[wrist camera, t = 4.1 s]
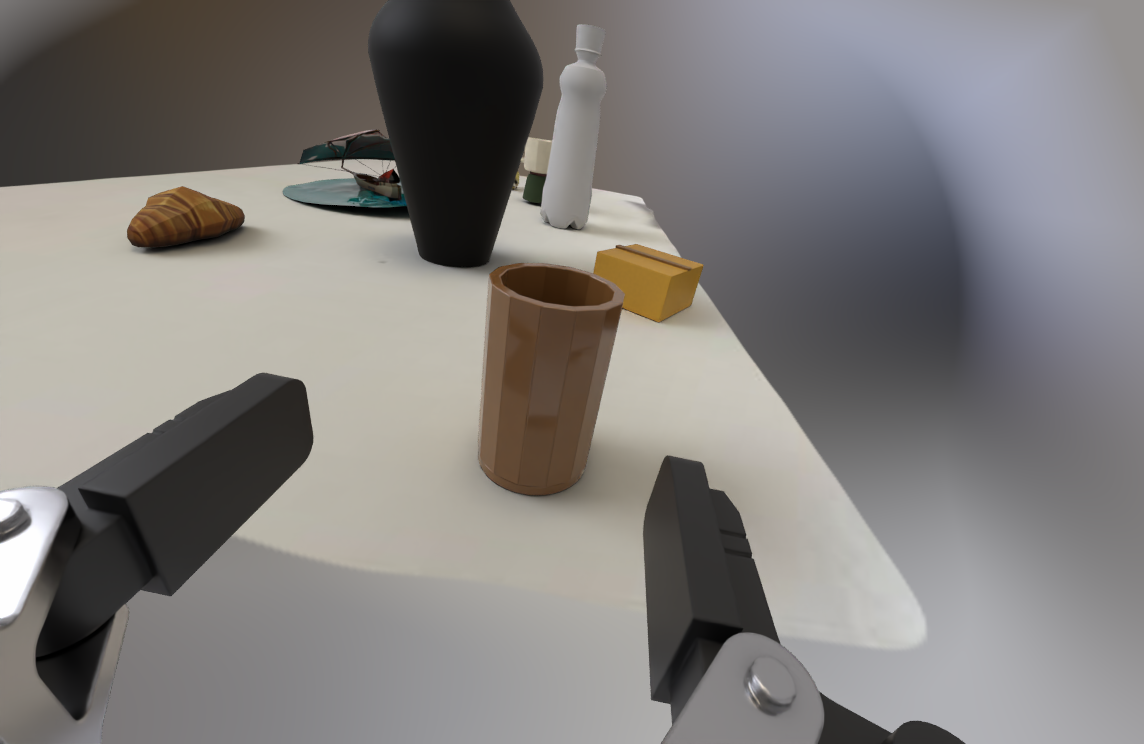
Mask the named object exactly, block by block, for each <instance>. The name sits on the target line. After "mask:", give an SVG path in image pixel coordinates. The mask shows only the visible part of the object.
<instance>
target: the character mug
mask: <svg viewBox="0 0 1144 744" xmlns="http://www.w3.org/2000/svg"><path fill="white" fill-rule="evenodd" d="M551 146H552V141H548V140H543V139H537V138H530V137H528V140H527V143H526V146H525V149H524V151H525V158H522V159H521V162H524V167H525V169H526V170H528V171H530V174H529V175H528V177H527V180H526V185H525V189H524V194H523V198H524V199H525V200H527V201H529V202H535V203H541V204H542V195H543V187H544V184H545V181H546V177H547V171H548V165H549V158H550V152H551Z"/></svg>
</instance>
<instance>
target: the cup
mask: <svg viewBox="0 0 1144 744" xmlns="http://www.w3.org/2000/svg"><path fill="white" fill-rule="evenodd" d="M624 297H625V293H624V292H623V291H622V290H621V289H620V288H619V287H618V286H617V285H616V284H614V283H613V282H611V281H609V280H606V279H604V278H602V277H600V276H598V275H596V274H593V273H589V272H586V271H582V270H579V269H575V268H572V267H571V268H570V267H566V266H559V265H552V264H544V263H517V264H512V265H507V266H501V267H498V268H497V269H496V270H494V271H493V272H492V273H490V274H489V280H488V295H487V311H486V326H485V341H484V356H483V371H482V386H481V401H480V417H479V432H478V459H479V463H480V466H481V468H482V470H483V471H484V473H485V474H486V475H487V476H488V477H489V478H490V479H491V480H492V481H493V482H495V483H496V484H498V485H499V486H501V487H503V488H505V489H507V490H510V491H513V492H516V493H520V494H526V495H548V494H554V493H557V492H561V491H563V490H566V489H567V488H569V487H571V486H572V485H574V484H575V483H576V482H577V481H578V480H579V479H580V478H581V476H582V475H583V473H584V470H585V467H586V462H587V458H588V454H589V450H590V445H591V441H592V437H593V432H594V428H595V424H596V419H597V415H598V411H599V406H600V402H601V397H602V393H603V389H604V384H605V380H606V376H607V371H608V367H609V363H610V358H611V354H612V350H613V345H614V341H615V337H616V332H617V328H618V324H619V319H620V315H621V310H622V306H623V302H624Z"/></svg>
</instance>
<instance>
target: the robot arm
mask: <svg viewBox="0 0 1144 744" xmlns="http://www.w3.org/2000/svg"><path fill="white" fill-rule="evenodd" d="M312 445H313V431H312V424H311V418H310V412H309V405H308V399H307V392H306V388H305V385H304V384H303V382H302V381H300V380H298V379H293V378H288V377H283V376H278V375H273V374H268V373H259V374H257V375H255V376H253V377H251V378H250V379H248V380H247V381H245V382H244V383H242V384H240V385H239V386H237V387H236V388H234V389H232V390H229V391H227V392H224V393H221V394H218V395H215V396H213V397H210V398H207V399H204V400H201V401H199V402H197V403H196V404H194V405H193V406H191V407H189V408H188V409H186V410H184V411H183V412H181V413H179V414H178V415H176V416H175V418H174V420H168V421H166V422H165V423H163V424H161V425H160V426H158V427H157V428H155V429H153V433H147V434H145V435H143V436H142V437H140V438H139V439H137V440H135V441H134V442H132V443H130V444H129V445H127V446H126V447H124V448H122V449H121V450H119V451H117V452H116V453H114V454H112V455H111V456H109V457H108V458H106V459H104V460H103V461H101V462H99V463H98V464H96V465H94V466H93V467H91V468H90V469H88V470H86V471H85V472H83V473H81V474H80V475H78V476H76V477H75V478H73V479H72V480H70V481H68V482H67V483H65V484H63V485H62V486H60V487H58V488H53V487H47V486H28V487H20V488H13V489H8V490H4V491H0V744H102V726H103V721H104V717H105V713H106V709H107V704H108V700H109V696H110V692H111V688H112V684H113V680H114V675H115V671H116V667H117V664H118V659H119V655H120V651H121V647H122V643H123V639H124V635H125V631H126V627H127V623H128V619H129V608H128V606H127V604H126V603H127V602H128V601H129V600H130V599H131V598H132V597H133V596H134V595H135V594H136V593H137V592H138V591H140V590H144V591H148V592H153V593H158V594H162V595H167V596H172V595H173V594H174V593H175V592H176V591H177V590H178V589H179V588H180V587H181V586H182V585H183V584H184V583H185V582H186V581H187V580H188V579H189V578H190V577H191V576H192V575H193V574H194V573H195V572H196V571H197V570H198V569H199V568H200V567H201V566H202V565H203V564H204V563H205V562H206V561H207V560H208V559H209V558H210V557H211V556H212V555H213V554H214V553H215V552H216V551H217V550H218V549H219V548H220V547H221V546H222V545H223V544H224V543H225V542H226V541H227V540H228V539H229V538H230V537H231V536H232V535H233V534H234V533H235V532H236V531H237V530H238V529H239V528H240V527H241V526H242V525H243V524H244V523H245V522H246V521H247V520H248V519H249V518H250V517H251V516H252V515H253V514H254V513H255V512H256V511H257V510H258V509H259V508H260V507H261V506H262V505H263V504H264V503H265V502H266V501H267V500H268V499H269V498H270V497H271V496H272V495H273V494H274V493H275V492H276V491H277V490H278V489H279V488H280V487H281V486H282V485H283V483H284V482H285V481H286V480H287V479H288V478H289V477H290V476H291V475H292V474H293V473H294V472H295V471H296V470H297V469H298V468H299V467H300V466H301V465H302V464H303V463H304V462H305V461H306V459H307V458H308V456H309V454H310V451H311V449H312ZM643 540H644V561H645V582H646V602H647V623H648V642H649V643H648V644H649V665H650V686H651V700H654V701H658V702H663V703H668V704H671V715H672V727H671V728H670V730H669V732H668V733H667V735H666V736H665V738H664V740H663V741H662V742H661V744H965V743H964V742H963V741H961V740H960V739H959V738H957V737H956V736H954V735H953V734H951V733H949V732H948V731H946V730H944V729H942V728H940V727H938V726H936V725H933V724H930V723H927V722H922V721H909V722H906V723H904V724H903V725H901V726H900V727H899V728H898V729H897V730H896V731H894V732H893V733H890V732H889V731H887V730H885V729H883V728H881V727H879V726H878V725H876V724H874V723H872V722H870V721H868V720H866V719H865V718H863V717H861V716H859V715H857V714H856V713H854V712H852V711H850V710H848V709H846V708H844V707H843V706H841V705H839V704H837V703H835V702H834V701H832V700H830V699H829V698H827V697H826V696H824V695H823V694H822V693H820V692H819V691H818V689H817V687H816V685H815V682H814V681H813V679H812V677H811V676H810V674H809V672H808V671H807V670H806V669H805V667H804V666H803V665H802V663H801V662H800V661H799V660H798V659H797V658H796V657H795V656H794V655H793V654H792V653H791V652H789V650H787V649H786V648H785V647H783V646H782V645H781V644H780V641H779V638H778V636H777V633H776V629H775V626H774V623H773V620H772V616H771V613H770V610H769V607H768V604H767V600H766V597H765V594H764V591H763V587H762V584H761V581H760V578H759V574H758V571H757V568H756V565H755V562H754V559H752V552H751V549H750V545H749V542H748V539H746V533H745V529H744V526H743V523H742V520H741V516H740V513H739V511H738V510H737V509H736V507H735V506H734V505H733V503H732V502H731V501H730V499H729V498H728V497H727V495H726V494H725V493H724V491H719V490H714V489H709V485H708V481H707V477H706V473H705V469H704V465H703V464H702V463H701V462H698V461H693V460H688V459H683V458H678V457H673V456H668V455H667V456H666V457H665V458H664V460H663V462H662V465H661V468H660V471H659V474H658V476H657V479H656V482H655V485H654V488H653V491H652V494H651V496H650V499H649V502H648V505H647V509H646V513H645V519H644V528H643Z"/></svg>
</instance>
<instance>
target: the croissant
mask: <svg viewBox="0 0 1144 744" xmlns="http://www.w3.org/2000/svg"><path fill="white" fill-rule="evenodd" d="M244 217H245V215H244V213H243V211H242V209H240V208H239V207H237V206H235V205H232V204H230V203H227V202H224V201H221V200H218V199H215V198H211V197H209V196H206V195H204V194H202V193H200V192H197V191H194V190H191V189H189V188H186V187H183V186H182V187H178V188H175V189H172V190H168V191H165V192H161V193H158V194H156V195H154V196H151V197H149V198H148V200H147V204H146V206H145V207H144V208H142V209H141V210H140V211H139V212H138V213H137V215H136V216H135V217H134V218H133V219H132V221H131V223H130V225H129V227H128V229H127V238H128V239H129V241H130V242H131V244H132V245H134V246H137V247H148V248H153V247H165V246H171V245H177V244H182V243H187V242H191V241H195V240H201V239H207V238H214V237H218V236H220V235H222V234H224V233H226V232H228V231H230V230H234V229H237V228H238V227H240V226H242V224H243V223H244Z"/></svg>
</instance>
